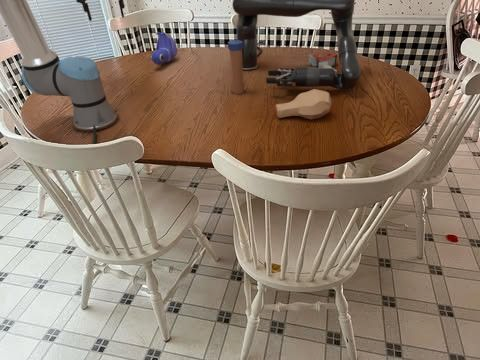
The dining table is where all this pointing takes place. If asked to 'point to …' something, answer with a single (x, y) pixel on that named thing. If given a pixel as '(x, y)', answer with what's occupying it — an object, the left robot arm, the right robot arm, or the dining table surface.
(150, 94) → the dining table surface
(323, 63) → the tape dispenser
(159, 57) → the toy
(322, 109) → the squash
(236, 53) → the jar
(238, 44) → the lid
